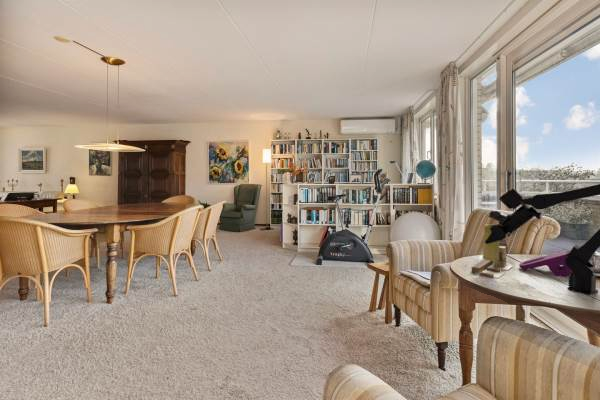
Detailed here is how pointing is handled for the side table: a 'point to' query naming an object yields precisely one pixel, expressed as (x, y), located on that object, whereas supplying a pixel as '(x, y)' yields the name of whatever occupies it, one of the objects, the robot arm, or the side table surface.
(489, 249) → the vase
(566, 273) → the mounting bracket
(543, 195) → the robot arm
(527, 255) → the side table surface
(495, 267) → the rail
